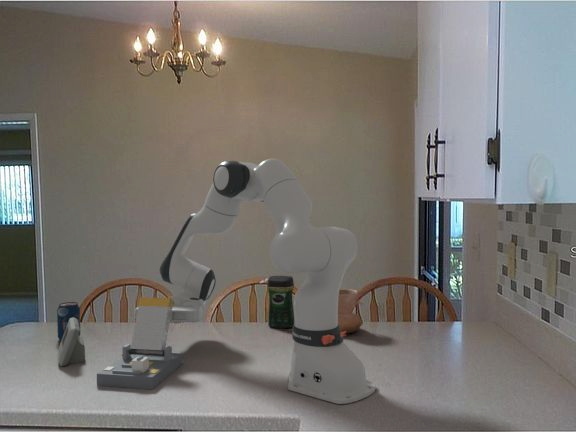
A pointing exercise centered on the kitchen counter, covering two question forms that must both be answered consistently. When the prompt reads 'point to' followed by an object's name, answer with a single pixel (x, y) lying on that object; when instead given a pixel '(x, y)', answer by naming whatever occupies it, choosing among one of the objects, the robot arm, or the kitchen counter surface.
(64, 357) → the digital clock
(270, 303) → the coffee jar
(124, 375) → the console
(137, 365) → the slide switch
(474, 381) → the kitchen counter surface
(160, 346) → the lever
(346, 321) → the ceramic jug
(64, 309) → the soda can
